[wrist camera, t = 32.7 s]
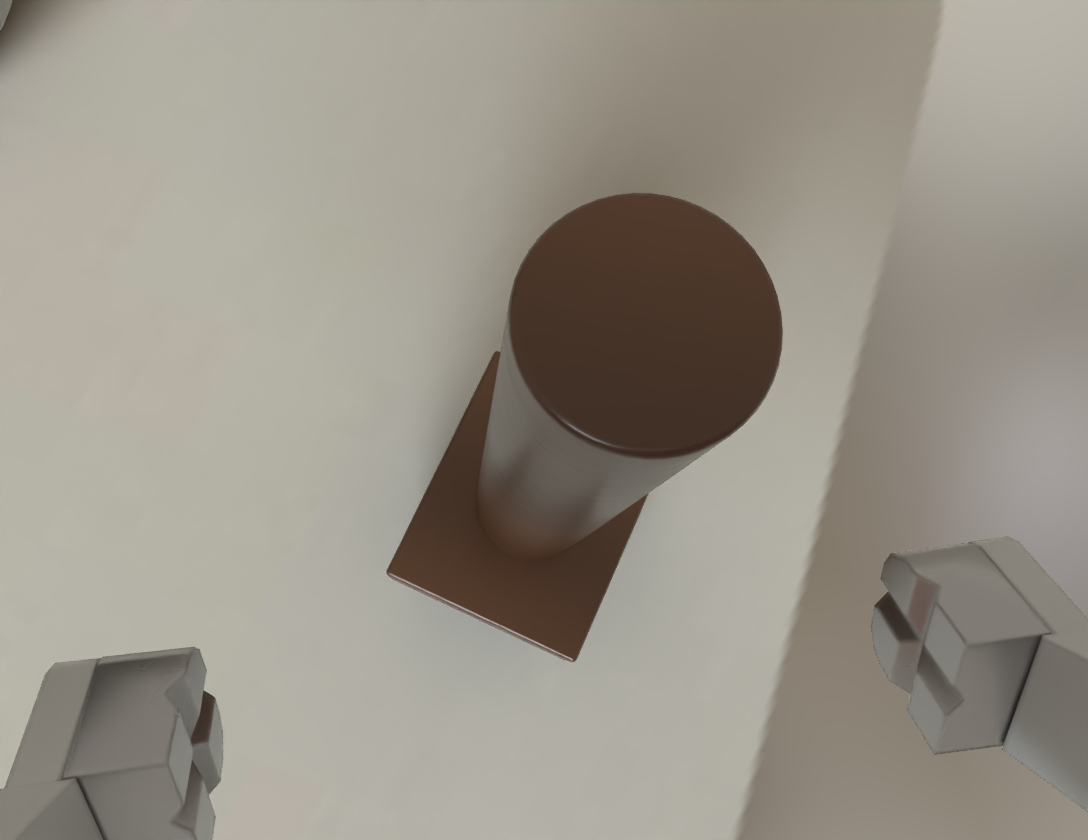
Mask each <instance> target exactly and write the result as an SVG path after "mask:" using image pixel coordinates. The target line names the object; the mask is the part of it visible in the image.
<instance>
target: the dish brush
mask: <svg viewBox="0 0 1088 840" xmlns="http://www.w3.org/2000/svg"><path fill="white" fill-rule="evenodd" d="M782 336H783V329H782V317H781V311H780V306H779V301H778V297H777V294H776V291H775V288H774V285H773V282H772V280H771V278H770V276H769V274H768V272H767V270H766V268H765V266H764V264H763V262H762V261H761V259H760V258H759V256H758V255H757V253H756V252H755V250H754V249H753V248H752V247H751V246H750V245H749V243H748V242H747V241H746V240H745V239H744V238H743V236H741V235H740V234H739V233H738V232H737V231H736V230H735V229H734V228H733V227H731V226H730V225H729V224H728V223H726V222H725V221H723V220H722V219H721V218H719V217H718V216H716V215H715V214H713V213H711V212H709V211H707V210H706V209H704V208H702V207H700V206H697V205H695V204H692V203H690V202H687V201H685V200H681V199H677V198H674V197H670V196H665V195H657V194H646V193H632V194H623V195H615V196H611V197H607V198H602V199H598V200H595V201H593V202H590V203H588V204H585V205H582V206H580V207H578V208H576V209H575V210H573V211H571V212H569V213H567V214H566V215H564V216H563V217H562V218H560V219H559V220H557V221H556V222H555V223H553V224H552V225H551V226H550V227H549V228H548V229H547V230H546V231H545V232H544V233H543V234H542V235H541V236H540V237H539V238H538V239H537V241H536V242H535V243H534V244H533V246H532V247H531V248H530V250H529V251H528V253H527V255H526V256H525V258H524V260H523V262H522V263H521V265H520V268H519V270H518V273H517V275H516V277H515V280H514V284H513V288H512V291H511V295H510V300H509V306H508V312H507V318H506V324H505V329H504V335H503V341H502V347H501V352H499V351H496V352H495V353H494V354H493V356H492V358H491V360H490V362H489V364H488V366H487V368H486V370H485V372H484V374H483V376H482V378H481V380H480V382H479V384H478V386H477V388H476V390H475V392H474V394H473V396H472V398H471V400H470V402H469V405H468V407H467V409H466V411H465V413H464V415H463V417H462V419H461V421H460V423H459V425H458V427H457V429H456V431H455V433H454V435H453V437H452V439H451V441H450V443H449V445H448V447H447V449H446V451H445V453H444V455H443V457H442V459H441V461H440V463H439V465H438V467H437V470H436V472H435V474H434V476H433V478H432V480H431V482H430V484H429V486H428V488H427V490H426V492H425V494H424V496H423V498H422V500H421V502H420V504H419V506H418V508H417V510H416V512H415V514H414V516H413V518H412V520H411V522H410V524H409V526H408V528H407V530H406V532H405V535H404V537H403V539H402V541H401V543H400V545H399V547H398V549H397V551H396V553H395V555H394V557H393V559H392V561H391V563H390V565H389V567H388V569H387V575H388V576H389V577H391V578H392V579H393V580H395V581H397V582H399V583H401V584H404V585H406V586H408V587H410V588H412V589H414V590H416V591H418V592H421V593H423V594H425V595H427V596H429V597H431V598H433V599H435V600H438V601H440V602H442V603H444V604H446V605H448V606H450V607H452V608H455V609H457V610H459V611H461V612H463V613H465V614H467V615H469V616H472V617H474V618H476V619H478V620H480V621H482V622H484V623H487V624H489V625H491V626H493V627H495V628H497V629H499V630H501V631H504V632H506V633H508V634H510V635H512V636H514V637H516V638H518V639H521V640H523V641H525V642H527V643H529V644H531V645H533V646H535V647H538V648H540V649H542V650H544V651H546V652H548V653H550V654H553V655H555V656H557V657H559V658H561V659H563V660H567V661H571V662H575V661H576V660H577V657H578V655H579V653H580V650H581V648H582V646H583V644H584V641H585V639H586V637H587V634H588V632H589V630H590V627H591V625H592V623H593V620H594V618H595V616H596V614H597V611H598V609H599V607H600V604H601V602H602V600H603V597H604V595H605V593H606V590H607V588H608V586H609V584H610V581H611V579H612V577H613V574H614V572H615V570H616V567H617V565H618V563H619V560H620V558H621V556H622V554H623V551H624V549H625V547H626V544H627V542H628V540H629V537H630V535H631V533H632V530H633V528H634V526H635V524H636V521H637V519H638V517H639V514H640V512H641V510H642V507H643V505H644V503H645V500H646V498H647V496H648V494H649V492H651V491H652V490H654V489H655V488H656V487H658V486H659V485H661V484H662V483H664V482H665V481H666V480H668V479H669V478H671V477H672V476H674V475H675V474H676V473H678V472H679V471H681V470H682V469H684V468H685V467H686V466H688V465H689V464H691V463H692V462H693V461H695V460H696V459H698V458H699V457H701V456H702V455H703V454H705V453H706V452H708V451H709V450H711V449H712V448H713V447H715V446H716V445H718V444H719V443H721V442H722V441H723V440H725V439H726V438H728V437H729V436H731V435H732V434H733V433H734V432H735V431H737V430H738V429H739V428H740V427H741V426H743V425H744V424H745V423H746V422H747V421H748V420H749V418H750V417H751V416H752V415H753V414H754V413H755V412H756V411H757V409H758V408H759V406H760V405H761V403H762V402H763V400H764V399H765V397H766V395H767V393H768V391H769V389H770V387H771V385H772V383H773V381H774V378H775V375H776V372H777V369H778V366H779V361H780V356H781V351H782Z"/></svg>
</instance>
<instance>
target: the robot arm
mask: <svg viewBox="0 0 1088 840" xmlns="http://www.w3.org/2000/svg"><path fill="white" fill-rule="evenodd" d="M881 580H882V581H883V583H884V585H885V586H886V588H887V589H888V592H887V593H886V594H885V595H884V597H882V598H881V599H880V600H879V601H878V602H877V604H876V605H875V606H874V611H873V617H872V623H871V630H872V638H873V646H874V650H875V653H876V655H877V658H878V661H879V664H880V666H881V667H882V669H883V671H884V672H885V674H886V676H887V678H888V679H889V681H890V682H892V683H894V684H895V685H897V686H899V687H900V688H902V689H904V690H905V691H907V692H908V693H910V698H909V703H908V707H907V711H908V713H909V714H910V716H911V717H912V719H913V721H914V723H915V724H916V726H917V727H918V729H919V730H920V732H921V734H922V736H923V737H924V739H925V740H926V742H927V744H928V745H929V747H930V749H931V750H932V752H933V754H942V753H950V752H958V751H966V750H973V749H981V748H988V747H996V746H1003V748H1002V750H1004V751H1005V752H1006V753H1008V754H1009V755H1011V756H1012V757H1013V758H1015V759H1016V760H1018V761H1019V762H1020V763H1021V764H1023V765H1024V766H1026V767H1027V768H1028V769H1030V770H1031V771H1033V772H1034V773H1035V774H1037V775H1038V776H1039V777H1041V778H1042V779H1043V780H1045V781H1046V782H1047V783H1049V784H1050V785H1052V786H1053V787H1054V788H1056V789H1057V790H1058V791H1060V792H1061V793H1063V794H1064V795H1065V796H1067V797H1068V798H1069V799H1071V800H1072V801H1074V802H1075V803H1076V804H1077V805H1079V806H1080V807H1082V808H1083V809H1084V810H1086V811H1087V812H1088V618H1087V617H1086V616H1085V615H1084V614H1083V613H1082V612H1081V610H1080V609H1079V608H1078V607H1077V606H1076V605H1075V604H1074V603H1073V601H1071V599H1070V598H1069V597H1068V596H1067V595H1066V594H1065V593H1064V591H1063V590H1062V589H1061V588H1060V587H1059V586H1058V585H1057V584H1056V583H1055V582H1054V580H1053V579H1052V578H1051V577H1050V576H1049V575H1048V574H1047V573H1046V571H1045V570H1044V569H1043V568H1042V567H1041V566H1040V565H1039V564H1038V562H1036V560H1035V559H1034V558H1033V557H1032V556H1031V555H1030V554H1029V552H1028V551H1027V550H1026V549H1025V548H1024V547H1023V546H1022V545H1021V544H1020V543H1019V542H1018V541H1016V540H1014V539H1012V538H1010V537H1001V538H994V539H987V540H980V541H974V542H969V543H967V544H966V543H961V544H954V545H947V546H940V547H933V548H926V549H919V550H912V551H905V552H898V553H892V554H890V555H889V557H888V558H887V559H886V561H885V562H884V566H883V570H882V574H881ZM206 672H207V670H206V667H205V664H204V661H203V658H202V655H201V653H200V650H199V649H197V648H195V647H188V648H179V649H170V650H161V651H152V652H143V653H134V654H125V655H115V656H106V657H102V658H98V659H89V660H79V661H69V662H60V663H55V664H54V665H53V666H52V667H51V668H50V669H49V670H48V672H47V673H46V674H45V676H44V679H43V681H42V684H41V687H40V690H39V693H38V695H37V698H36V701H35V704H34V707H33V709H32V712H31V715H30V718H29V721H28V723H27V726H26V729H25V732H24V735H23V737H22V740H21V743H20V746H19V749H18V752H17V754H16V757H15V760H14V763H13V766H12V768H11V771H10V774H9V777H8V780H7V782H6V785H5V788H4V789H0V840H212V838H213V831H214V824H215V817H216V816H215V813H214V810H213V807H212V804H211V801H210V798H209V794H210V793H211V792H212V791H213V789H214V788H215V787H216V786H217V785H218V784H219V782H220V780H221V772H222V763H223V731H222V725H221V718H220V713H219V709H218V706H217V702H216V699H215V697H213V696H212V695H210V694H209V693H207V692H205V691H204V684H205V678H206Z"/></svg>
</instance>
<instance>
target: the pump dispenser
mask: <svg viewBox="0 0 1088 840" xmlns="http://www.w3.org/2000/svg"><path fill="white" fill-rule="evenodd" d="M12 1H13V0H0V31H1V29H2V27H3V25H4V23H5V20H6V18H7V15H8V13H9V10H10V7H11V5H12Z"/></svg>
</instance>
